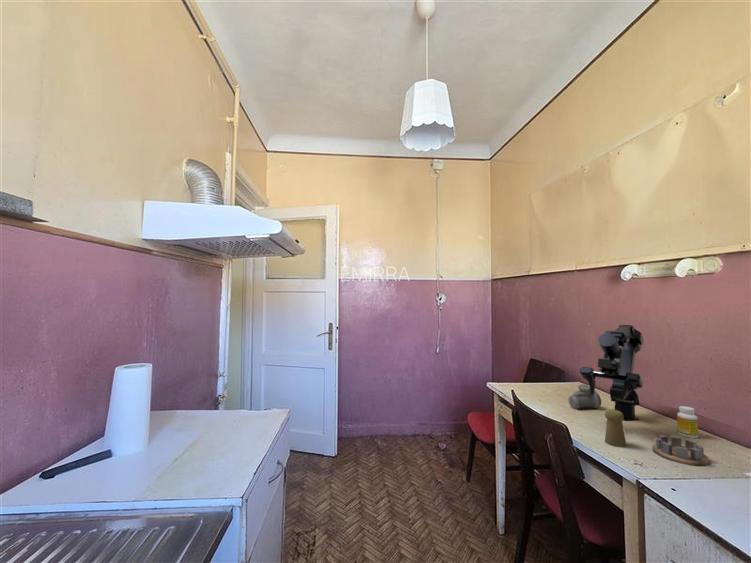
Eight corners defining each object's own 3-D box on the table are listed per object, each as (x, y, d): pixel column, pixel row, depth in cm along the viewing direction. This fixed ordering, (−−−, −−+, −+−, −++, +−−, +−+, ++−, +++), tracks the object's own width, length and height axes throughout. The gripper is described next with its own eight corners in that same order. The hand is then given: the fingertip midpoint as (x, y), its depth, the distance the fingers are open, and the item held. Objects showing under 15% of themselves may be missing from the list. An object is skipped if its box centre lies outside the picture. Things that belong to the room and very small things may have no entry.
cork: (627, 448, 108) (626, 414, 108) (605, 444, 111) (603, 411, 112) (625, 442, 113) (624, 409, 114) (604, 438, 116) (602, 406, 117)
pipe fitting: (588, 403, 154) (586, 381, 154) (602, 410, 146) (601, 387, 146) (565, 407, 152) (564, 385, 152) (579, 414, 144) (577, 392, 144)
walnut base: (673, 444, 111) (673, 441, 111) (720, 463, 98) (720, 460, 98) (641, 447, 109) (641, 444, 109) (685, 467, 96) (685, 464, 96)
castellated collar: (674, 443, 110) (674, 434, 110) (713, 458, 99) (712, 448, 99) (647, 445, 108) (647, 436, 108) (684, 461, 97) (683, 451, 97)
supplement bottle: (693, 439, 115) (691, 411, 116) (674, 433, 120) (673, 406, 121) (701, 436, 117) (700, 409, 118) (683, 431, 122) (681, 404, 123)
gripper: (579, 346, 130) (571, 382, 124) (638, 352, 116) (633, 393, 110) (587, 360, 136) (580, 395, 129) (644, 367, 122) (640, 407, 115)
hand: (606, 397), depth 121 cm, fingers open, 9 cm apart
